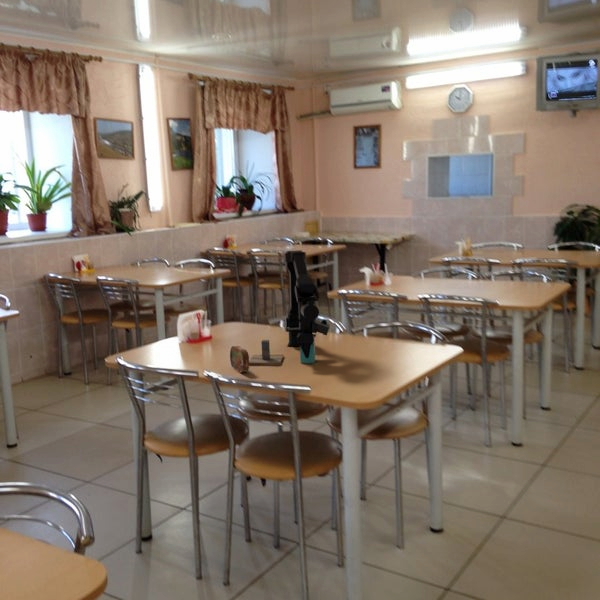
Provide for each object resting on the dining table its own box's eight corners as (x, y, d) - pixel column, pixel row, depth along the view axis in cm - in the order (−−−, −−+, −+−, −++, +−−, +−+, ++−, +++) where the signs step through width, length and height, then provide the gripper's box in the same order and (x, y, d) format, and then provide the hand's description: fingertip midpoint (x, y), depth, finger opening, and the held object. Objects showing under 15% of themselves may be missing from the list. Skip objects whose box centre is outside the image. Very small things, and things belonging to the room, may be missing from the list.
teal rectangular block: (301, 359, 266) (301, 342, 265) (315, 359, 266) (314, 342, 265) (300, 363, 261) (300, 345, 260) (314, 362, 261) (313, 345, 260)
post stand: (252, 357, 272) (252, 337, 271) (283, 357, 271) (282, 336, 270) (248, 365, 260) (247, 344, 259) (280, 365, 259) (279, 344, 258)
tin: (229, 366, 261) (228, 344, 260) (237, 364, 262) (236, 343, 261) (242, 375, 247) (241, 352, 246) (251, 374, 249) (250, 351, 247)
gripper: (326, 319, 251) (328, 362, 253) (329, 310, 269) (330, 349, 272) (296, 320, 252) (297, 362, 254) (300, 310, 270) (301, 350, 273)
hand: (307, 356), depth 263 cm, fingers open, 5 cm apart
